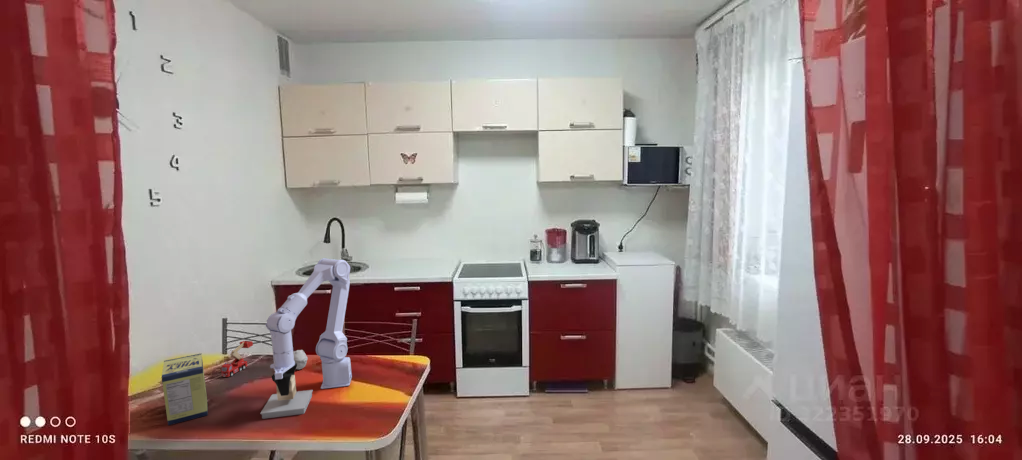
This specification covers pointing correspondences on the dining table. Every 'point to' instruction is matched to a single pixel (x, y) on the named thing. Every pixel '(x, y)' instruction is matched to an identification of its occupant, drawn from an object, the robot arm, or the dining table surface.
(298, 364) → the white rounded lump
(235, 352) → the toy fire truck
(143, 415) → the dining table surface
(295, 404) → the thin white square tile
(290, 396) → the birch block
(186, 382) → the protein box
